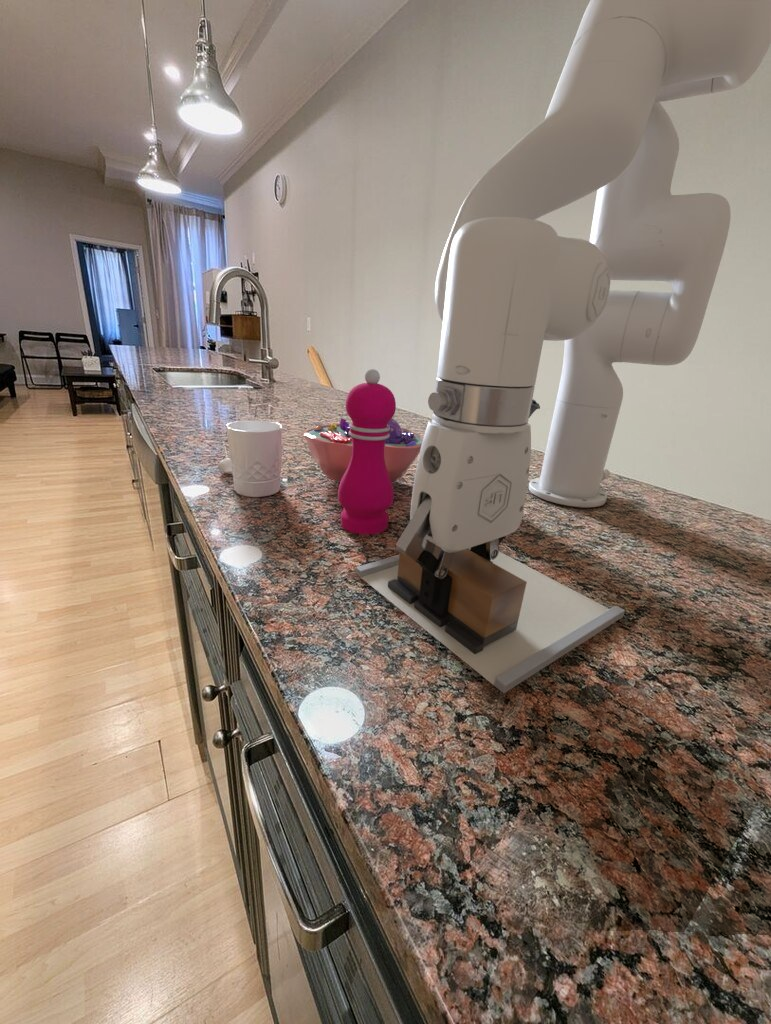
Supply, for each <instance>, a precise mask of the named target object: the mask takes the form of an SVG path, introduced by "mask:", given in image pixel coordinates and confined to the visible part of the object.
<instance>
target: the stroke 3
mask: <svg viewBox="0 0 771 1024" xmlns="http://www.w3.org/2000/svg"><path fill="white" fill-rule="evenodd" d="M445 632H447V633H448V634H449V635H450V636H452V637H453V638H454V639H456V640H457V641H458V642H459V643H461V644H462V645H463V646H465V647H466V648H467V649H469V650H470V651H471V652H472V653H474V654H477V653H479V652H481V651H482V650H483V647H484V643H482V642H481V641H480V640H478V639H477V638H476V637H474V636H473V635H472V634H470V633H469V632H467V631H466V630H465V629H463V628H462V627H461V626H459V625H458V624H456V623H455V622H454V621H453V622H451V623H449V624H447V625H446V626H445Z"/></svg>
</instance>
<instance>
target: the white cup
mask: <svg viewBox="0 0 771 1024" xmlns="http://www.w3.org/2000/svg"><path fill="white" fill-rule="evenodd" d="M225 429H226V433H227V434H226V435H227V444H228V445H227V446H228V452H229V458H230V461H231V469H232V479H233V489H234V491H235V493H236V494H238V495H240V496H243V497H249V498H261V497H262V498H263V497H268V496H272V495H275V494H277V493H278V492H279V491H280V489H281V473H282V463H283V462H282V461H283V424H281V423H279V422H275V421H269V420H262V419H261V420H259V419H258V420H257V419H248V420H247V419H245V420H237V421H236V420H235V421H231V422H229V423H227V424H226V427H225Z"/></svg>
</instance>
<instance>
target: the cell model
mask: <svg viewBox="0 0 771 1024" xmlns="http://www.w3.org/2000/svg"><path fill="white" fill-rule="evenodd" d="M350 423H351V422H348V421H347V419H346V418H340V422H339V423H334V422H333V423H331V424H317V425H316V426H313V427H311V428H307V429H306V430H304V431H303V432H302V434H303V437H304V440H305V442H306V444H307V445H306V446H307V447H308V450H309V453H310V455H311V456H312V458H313V460H314V462H315V463H316V464H317V465H318V467H319V468H320V469H321V471H322V473H323V474H324V475H325V476H326V477H327V478H328V479H330V480H331V481H334V482H337V483H340V482H341V479H342V477H343V475H344V473H345V472H346V470H347V468H348V466H349V463H350V460H351V456H352V437H351V436H350V435H349V431H350V427H349V424H350ZM387 425H389V426H390V430H389V434H390V436H389V438H387V439H386V441H385V447H384V459H385V464H386V468H387V471H388V473H389V476H390V479H391V481H392V483H394V482H396V481H397V480H399V479H401V478H403V477H404V475H405V474H406V473H407V472H408V470H409V469H410V467H411V466H412V465H413V464H414V462H416V459H418V457H419V454H420V449H421V445H422V441H423V438H424V436H422V435H420V434H418V433H415V432H413V431H411V430H409V429H407V428H403V427H401V425H400V424H399V422H398V421H397V420H396V419H394V418H393V417H392V418H391V419H390V420H389V422H388V424H387Z"/></svg>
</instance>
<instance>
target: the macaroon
mask: <svg viewBox="0 0 771 1024" xmlns="http://www.w3.org/2000/svg"><path fill="white" fill-rule="evenodd" d="M218 462H219V463H218V464H217V468H218V469H219V471H220V472H222V473H224V474H229V475H231V474H232V469H231V461H230V457H227V458H226V457H225V458H224V459H222V460H219V461H218ZM232 475H233V474H232Z"/></svg>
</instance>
